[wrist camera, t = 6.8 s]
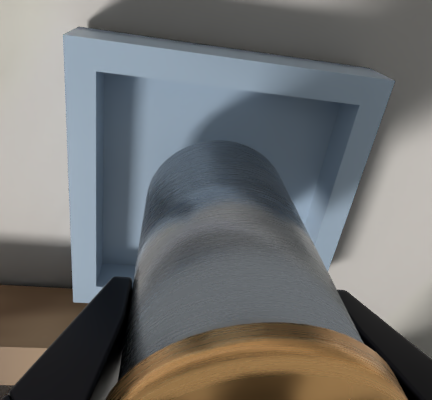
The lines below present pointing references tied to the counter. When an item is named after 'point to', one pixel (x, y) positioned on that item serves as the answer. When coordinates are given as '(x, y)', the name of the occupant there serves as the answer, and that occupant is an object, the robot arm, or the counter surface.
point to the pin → (237, 293)
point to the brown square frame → (31, 325)
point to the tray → (204, 134)
